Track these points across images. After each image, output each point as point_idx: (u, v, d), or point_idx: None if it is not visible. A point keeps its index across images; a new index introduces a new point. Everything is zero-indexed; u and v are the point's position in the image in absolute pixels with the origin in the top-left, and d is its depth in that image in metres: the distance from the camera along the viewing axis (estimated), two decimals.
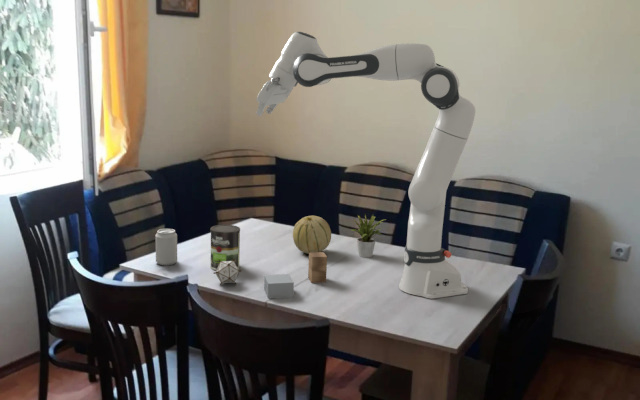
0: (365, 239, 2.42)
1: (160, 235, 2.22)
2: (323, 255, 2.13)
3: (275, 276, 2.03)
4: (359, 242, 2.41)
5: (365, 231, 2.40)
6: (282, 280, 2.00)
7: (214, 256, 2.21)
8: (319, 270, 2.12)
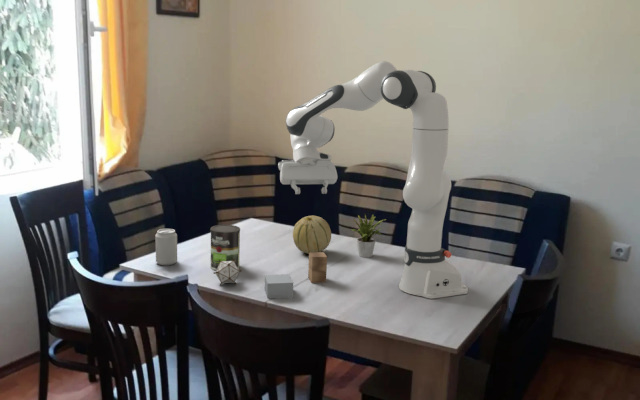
0: (365, 239, 2.42)
1: (160, 235, 2.22)
2: (323, 255, 2.13)
3: (276, 276, 2.03)
4: (359, 242, 2.41)
5: (365, 231, 2.40)
6: (282, 281, 1.99)
7: (214, 256, 2.21)
8: (319, 270, 2.12)
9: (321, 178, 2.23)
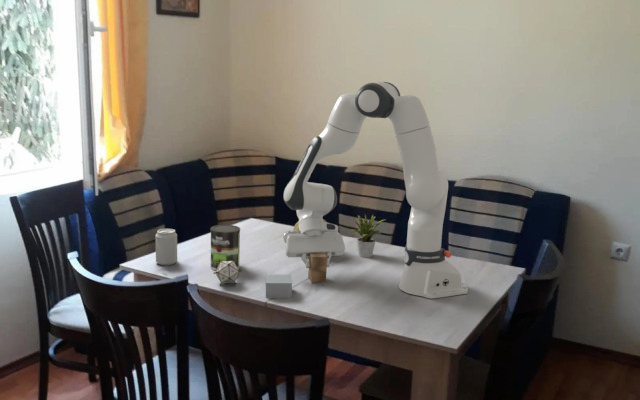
0: (365, 239, 2.42)
1: (160, 235, 2.22)
2: (323, 255, 2.13)
3: (276, 276, 2.03)
4: (359, 242, 2.41)
5: (365, 231, 2.40)
6: (281, 281, 1.99)
7: (214, 256, 2.21)
8: (319, 269, 2.12)
9: (328, 251, 2.16)
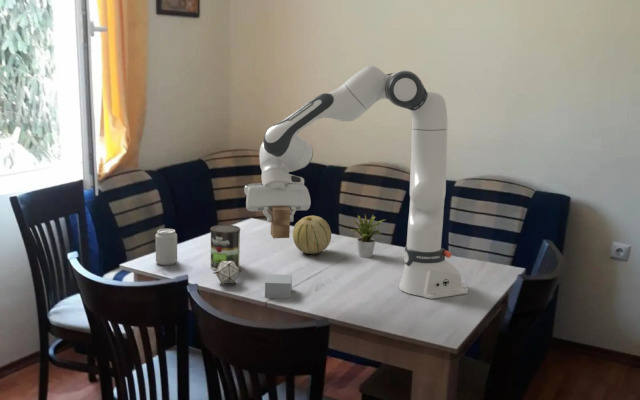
0: (365, 239, 2.42)
1: (160, 235, 2.22)
2: (286, 208, 1.96)
3: (277, 276, 2.04)
4: (359, 242, 2.41)
5: (365, 231, 2.40)
6: (281, 281, 1.99)
7: (214, 256, 2.21)
8: (281, 224, 1.95)
9: (292, 204, 1.99)
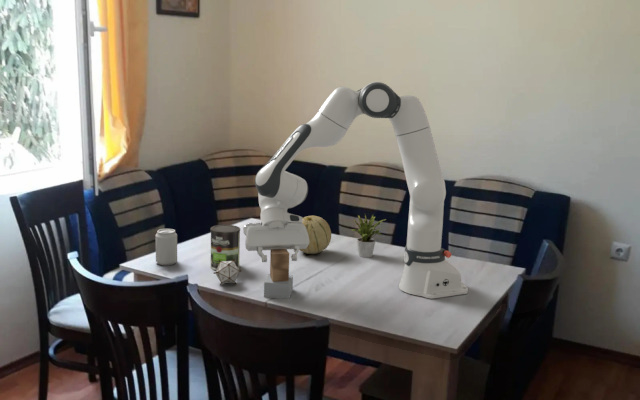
0: (365, 239, 2.42)
1: (160, 235, 2.22)
2: (285, 252, 1.99)
3: None
4: (359, 242, 2.41)
5: (365, 231, 2.40)
6: (280, 281, 1.99)
7: (214, 256, 2.21)
8: (280, 267, 1.98)
9: (291, 243, 2.02)
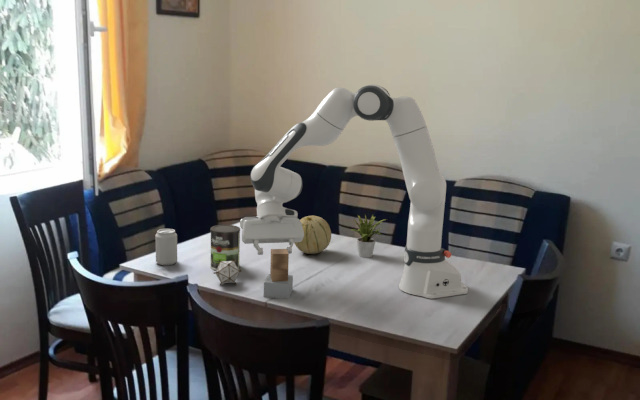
0: (365, 239, 2.42)
1: (160, 235, 2.22)
2: (285, 252, 1.99)
3: None
4: (359, 242, 2.41)
5: (365, 231, 2.40)
6: (280, 281, 1.99)
7: (214, 256, 2.21)
8: (280, 267, 1.98)
9: (286, 237, 2.08)
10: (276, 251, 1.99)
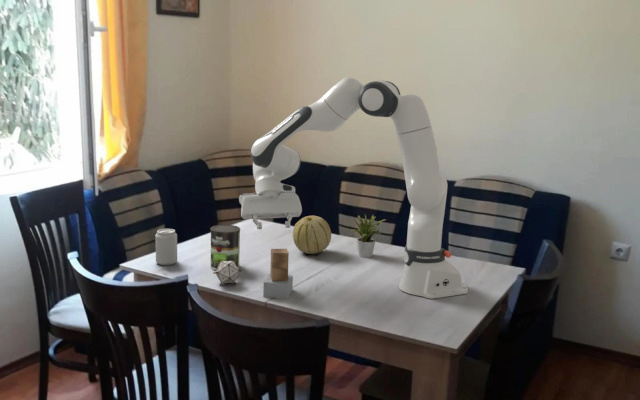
0: (365, 239, 2.42)
1: (160, 235, 2.22)
2: (285, 251, 1.99)
3: None
4: (359, 242, 2.41)
5: (365, 231, 2.40)
6: (279, 281, 1.99)
7: (214, 256, 2.21)
8: (280, 267, 1.98)
9: (284, 211, 2.12)
10: (276, 250, 2.00)
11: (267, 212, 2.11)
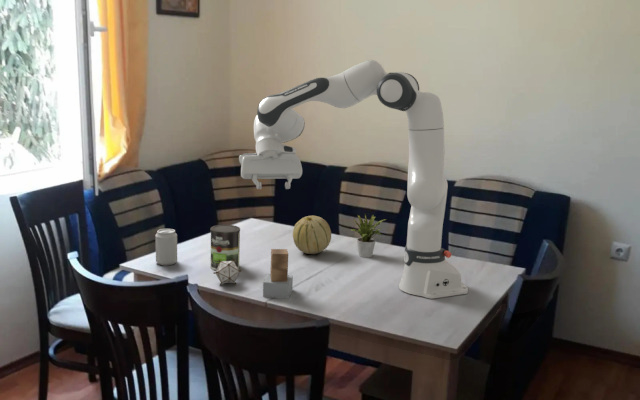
0: (365, 239, 2.42)
1: (160, 235, 2.22)
2: (285, 252, 1.99)
3: None
4: (359, 242, 2.41)
5: (365, 231, 2.40)
6: None
7: (214, 256, 2.21)
8: (279, 267, 1.98)
9: (284, 172, 2.09)
10: (276, 251, 1.99)
11: (267, 172, 2.08)
